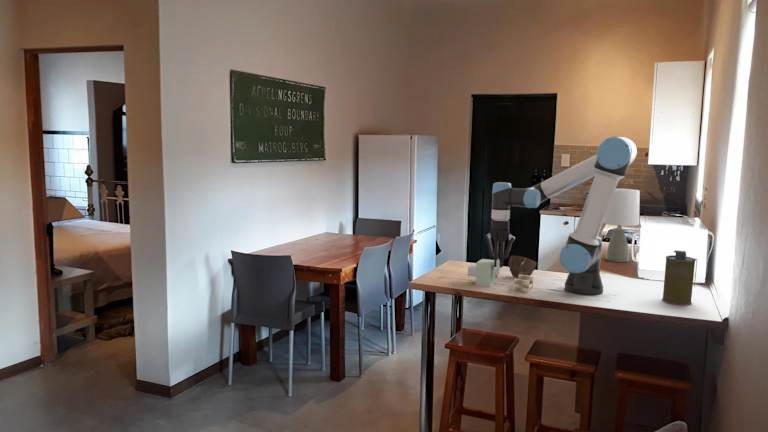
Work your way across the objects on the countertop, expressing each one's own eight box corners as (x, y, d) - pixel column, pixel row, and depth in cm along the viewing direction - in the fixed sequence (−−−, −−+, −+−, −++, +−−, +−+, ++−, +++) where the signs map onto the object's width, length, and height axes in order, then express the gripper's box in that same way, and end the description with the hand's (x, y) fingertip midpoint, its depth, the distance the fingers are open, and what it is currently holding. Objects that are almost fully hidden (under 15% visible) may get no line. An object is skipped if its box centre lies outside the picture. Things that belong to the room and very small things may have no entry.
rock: (534, 265, 271) (541, 256, 263) (531, 285, 267) (537, 277, 258) (508, 257, 272) (513, 249, 263) (503, 277, 268) (509, 269, 259)
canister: (659, 302, 231) (664, 251, 228) (664, 296, 240) (668, 247, 237) (691, 307, 225) (695, 255, 222) (694, 301, 234) (699, 251, 231)
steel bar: (497, 277, 254) (498, 268, 253) (495, 279, 250) (495, 269, 250) (470, 273, 259) (470, 264, 258) (467, 275, 255) (468, 266, 254)
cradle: (532, 286, 251) (533, 276, 251) (528, 292, 242) (528, 281, 241) (518, 284, 254) (519, 274, 253) (513, 290, 244) (513, 279, 243)
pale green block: (494, 282, 257) (495, 260, 256) (489, 286, 249) (490, 264, 248) (481, 280, 259) (482, 258, 258) (475, 285, 251) (476, 262, 250)
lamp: (592, 260, 310) (597, 189, 306) (605, 255, 325) (610, 187, 320) (629, 265, 299) (635, 192, 294) (641, 260, 313) (646, 190, 308)
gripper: (517, 219, 249) (515, 274, 252) (487, 217, 254) (485, 271, 257) (513, 221, 242) (511, 278, 245) (483, 219, 248) (481, 274, 251)
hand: (498, 274), depth 251 cm, fingers closed
